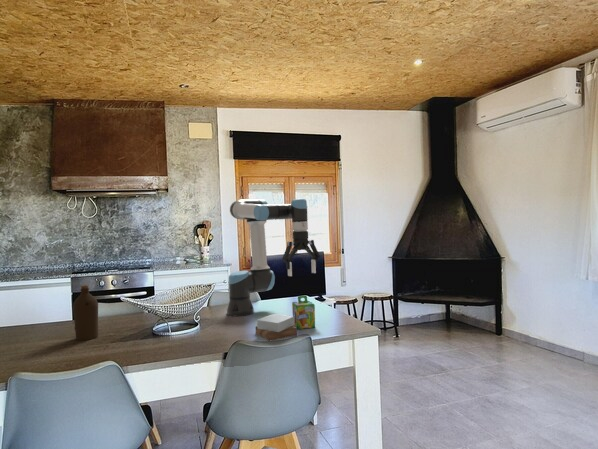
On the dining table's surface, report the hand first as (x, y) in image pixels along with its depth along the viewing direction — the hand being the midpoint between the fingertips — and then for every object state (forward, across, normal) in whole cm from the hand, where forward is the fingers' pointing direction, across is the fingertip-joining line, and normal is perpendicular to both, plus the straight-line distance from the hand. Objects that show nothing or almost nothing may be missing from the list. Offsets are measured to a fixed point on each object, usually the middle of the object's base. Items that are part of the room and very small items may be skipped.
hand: (302, 274), depth 195 cm
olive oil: (+25, -91, +49) cm, 107 cm away
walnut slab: (+26, -17, -3) cm, 31 cm away
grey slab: (+22, -17, -3) cm, 28 cm away
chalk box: (+26, 0, 0) cm, 26 cm away
